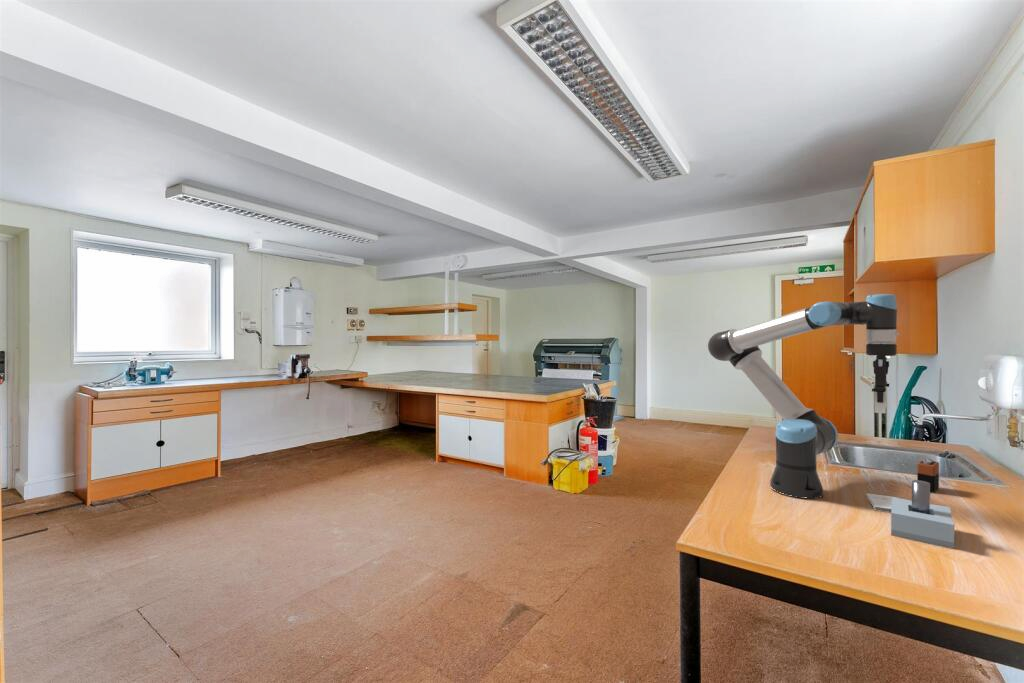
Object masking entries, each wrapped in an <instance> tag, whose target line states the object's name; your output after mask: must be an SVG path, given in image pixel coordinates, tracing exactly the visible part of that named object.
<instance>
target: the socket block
mask: <svg viewBox="0 0 1024 683" xmlns="http://www.w3.org/2000/svg"><path fill="white" fill-rule="evenodd" d="M891 497H892V508H891V512H890V513H891V514H890V520H891V522H890V523H891V524H890V526H891V527H890V535H891V536H893V535H894V537H898V538H903V539H907V540H912V541H917V542H922V543H924V544H931V545H935V546H939V547H944V548H949V549H955V522H954V519H953V515H952V512H951V507H950V506H944V505H940V504H939V505H938V504H932V503H930V515H929V514H924V513H918V512H913V511H912V499H911V500H910V499H906V498H900V497H897V498H894V497H895V496H891Z"/></svg>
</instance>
